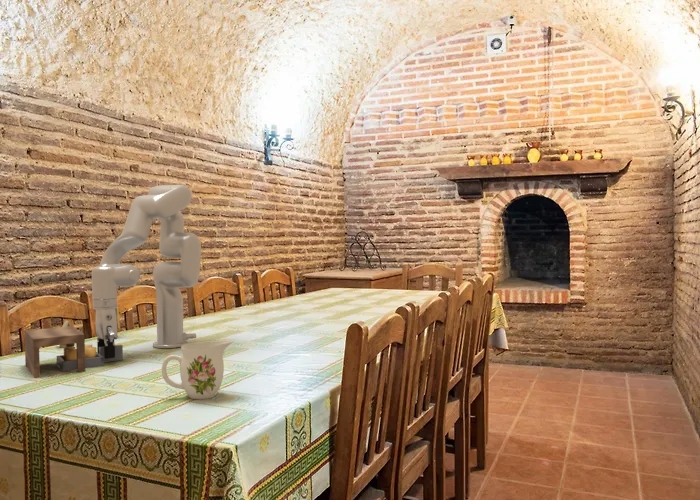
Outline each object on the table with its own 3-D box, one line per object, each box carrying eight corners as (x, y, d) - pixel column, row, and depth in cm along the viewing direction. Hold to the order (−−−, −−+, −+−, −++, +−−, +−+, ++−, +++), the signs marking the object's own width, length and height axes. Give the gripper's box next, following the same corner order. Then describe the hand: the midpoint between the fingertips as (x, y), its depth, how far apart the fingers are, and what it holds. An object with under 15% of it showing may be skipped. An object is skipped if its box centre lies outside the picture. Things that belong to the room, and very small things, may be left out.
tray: (117, 358, 205) (117, 340, 205) (126, 363, 196) (126, 345, 196) (56, 365, 194) (56, 347, 194) (62, 372, 185) (62, 352, 185)
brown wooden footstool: (72, 360, 201) (72, 326, 201) (85, 371, 184) (84, 334, 184) (25, 365, 193) (24, 330, 193) (34, 377, 176) (33, 339, 176)
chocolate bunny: (52, 347, 224) (51, 320, 224) (70, 343, 231) (70, 318, 231) (62, 348, 222) (61, 321, 221) (80, 345, 229) (79, 318, 228)
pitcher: (163, 393, 158) (162, 341, 158) (232, 388, 163) (231, 337, 163) (161, 404, 148) (160, 349, 147) (235, 398, 152) (234, 345, 152)
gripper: (123, 305, 192) (124, 358, 193) (110, 300, 206) (111, 350, 207) (98, 307, 188) (100, 361, 188) (87, 302, 202) (88, 352, 202)
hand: (106, 355), depth 198 cm, fingers open, 9 cm apart
